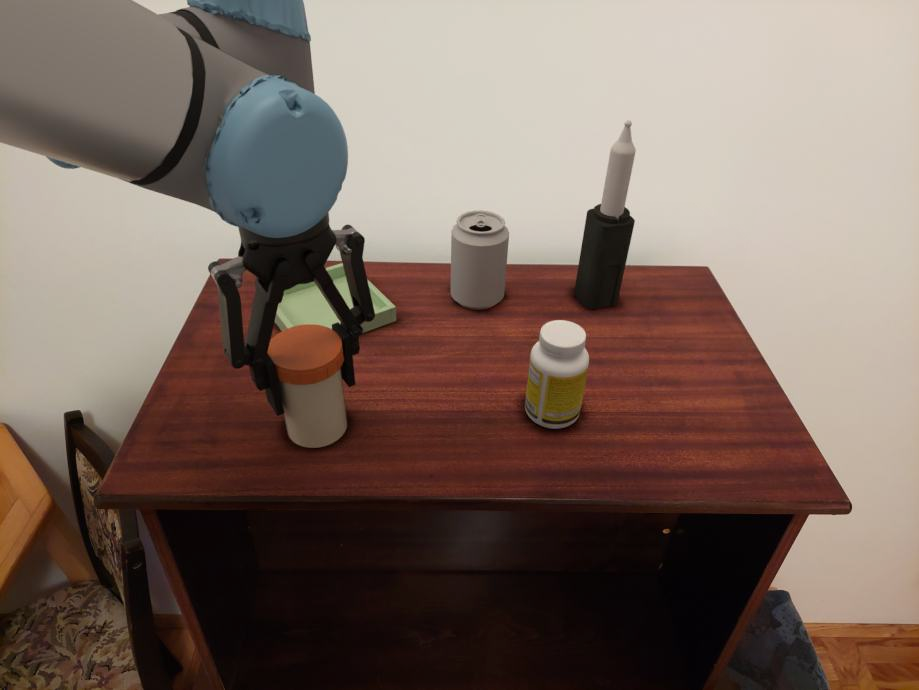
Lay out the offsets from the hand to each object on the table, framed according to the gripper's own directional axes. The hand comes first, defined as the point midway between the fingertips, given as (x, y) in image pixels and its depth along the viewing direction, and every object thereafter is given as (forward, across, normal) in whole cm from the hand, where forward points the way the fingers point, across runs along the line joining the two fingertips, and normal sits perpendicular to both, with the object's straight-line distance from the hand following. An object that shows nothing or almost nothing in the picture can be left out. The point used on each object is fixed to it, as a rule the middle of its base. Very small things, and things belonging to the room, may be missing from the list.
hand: (312, 392), depth 67 cm
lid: (-6, 0, 0) cm, 6 cm away
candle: (+5, +43, +2) cm, 43 cm away
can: (+5, +29, +11) cm, 31 cm away
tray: (+5, +10, +19) cm, 22 cm away
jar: (+5, 0, 0) cm, 5 cm away
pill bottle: (+5, +23, -12) cm, 26 cm away
